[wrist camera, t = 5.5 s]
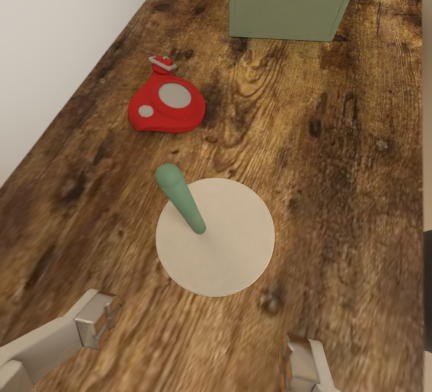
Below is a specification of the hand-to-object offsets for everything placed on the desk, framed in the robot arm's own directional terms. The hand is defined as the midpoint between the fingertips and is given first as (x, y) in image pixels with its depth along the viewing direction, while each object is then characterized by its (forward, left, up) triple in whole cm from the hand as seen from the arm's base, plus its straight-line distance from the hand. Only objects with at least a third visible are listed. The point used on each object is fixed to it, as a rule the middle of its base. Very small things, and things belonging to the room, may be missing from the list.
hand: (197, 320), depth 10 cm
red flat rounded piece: (+10, -22, -9) cm, 26 cm away
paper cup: (0, -4, -9) cm, 10 cm away
